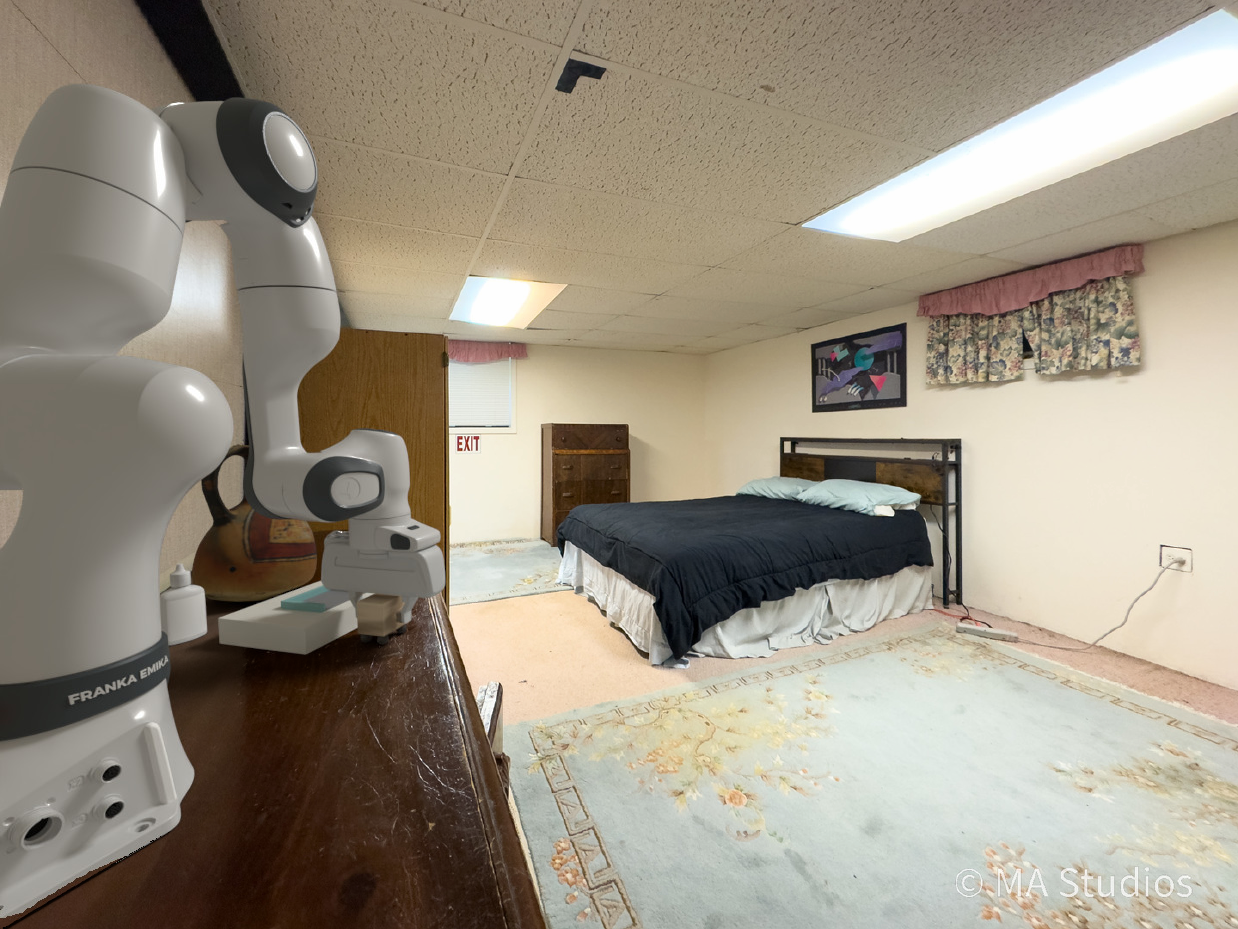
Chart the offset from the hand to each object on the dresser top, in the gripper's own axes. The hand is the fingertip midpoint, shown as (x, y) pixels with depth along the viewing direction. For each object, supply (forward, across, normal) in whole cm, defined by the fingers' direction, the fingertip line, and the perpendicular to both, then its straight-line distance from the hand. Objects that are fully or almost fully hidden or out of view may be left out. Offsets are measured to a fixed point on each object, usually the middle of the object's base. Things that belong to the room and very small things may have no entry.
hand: (383, 619), depth 81 cm
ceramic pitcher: (+3, -38, +12) cm, 40 cm away
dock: (+3, -15, +2) cm, 15 cm away
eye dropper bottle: (+3, -30, -8) cm, 31 cm away
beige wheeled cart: (+3, 0, 0) cm, 3 cm away
